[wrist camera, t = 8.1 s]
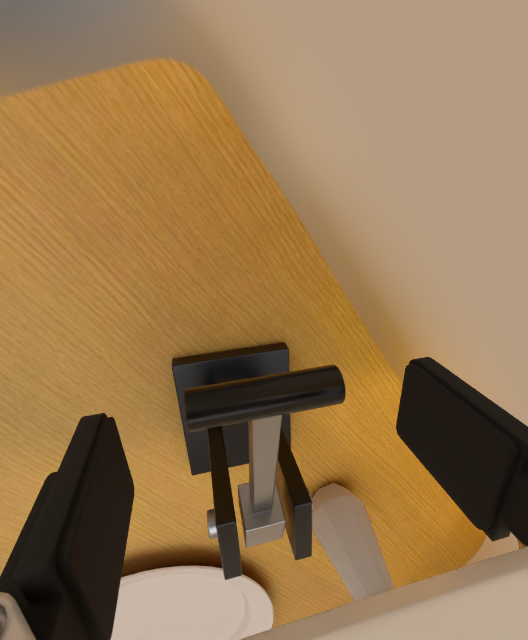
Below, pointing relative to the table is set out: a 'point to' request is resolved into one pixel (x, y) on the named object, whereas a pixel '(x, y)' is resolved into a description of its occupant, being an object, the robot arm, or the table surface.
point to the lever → (262, 432)
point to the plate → (190, 605)
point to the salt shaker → (350, 541)
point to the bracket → (242, 449)
